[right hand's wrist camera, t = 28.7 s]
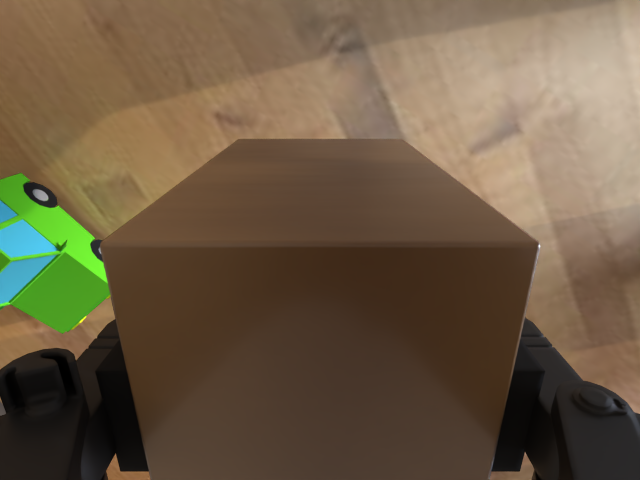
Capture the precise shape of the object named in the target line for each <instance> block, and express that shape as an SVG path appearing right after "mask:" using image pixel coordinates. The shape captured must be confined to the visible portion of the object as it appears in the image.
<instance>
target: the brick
mask: <svg viewBox="0 0 640 480" xmlns="http://www.w3.org/2000/svg"><path fill="white" fill-rule="evenodd" d="M100 250H101V255H102V259H103V264H104V268H105V273H106V277H107V282H108V287H109V291H110V296H111V300H112V305H113V309H114V314H115V319H116V323H117V328H118V332H119V337H120V341H121V346H122V350H123V355H124V360H125V364H126V369H127V373H128V378H129V382H130V387H131V392H132V396H133V401H134V405H135V410H136V414H137V419H138V424H139V428H140V433H141V437H142V442H143V446H144V451H145V455H146V460H147V465H148V469H149V474H150V478H151V480H489V479H490V475H491V470H492V465H493V461H494V456H495V452H496V447H497V443H498V438H499V433H500V429H501V424H502V420H503V415H504V411H505V406H506V401H507V397H508V392H509V388H510V383H511V379H512V374H513V369H514V365H515V360H516V356H517V351H518V347H519V342H520V337H521V333H522V328H523V324H524V319H525V315H526V310H527V305H528V301H529V296H530V292H531V287H532V283H533V278H534V273H535V269H536V264H537V260H538V255H539V251H540V243H539V242H538V241H537V240H536V239H534V238H533V237H532V236H530V235H529V234H528V233H526V232H525V231H524V230H523V229H521V228H520V227H519V226H517V225H516V224H515V223H513V222H512V221H511V220H509V219H508V218H507V217H505V216H504V215H503V214H501V213H500V212H499V211H497V210H496V209H495V208H493V207H492V206H491V205H489V204H488V203H487V202H485V201H484V200H483V199H481V198H480V197H479V196H477V195H476V194H475V193H473V192H472V191H471V190H469V189H468V188H467V187H465V186H464V185H463V184H461V183H460V182H459V181H457V180H456V179H455V178H453V177H452V176H451V175H450V174H448V173H447V172H446V171H444V170H443V169H442V168H440V167H439V166H438V165H436V164H435V163H434V162H432V161H431V160H430V159H428V158H427V157H426V156H424V155H423V154H422V153H420V152H419V151H418V150H416V149H415V148H414V147H412V146H411V145H410V144H408V143H407V142H406V141H404V140H403V139H238V140H237V141H235V142H234V143H232V144H231V145H230V146H228V147H227V148H226V149H224V150H223V151H222V152H220V153H219V154H218V155H216V156H215V157H214V158H212V159H211V160H210V161H208V162H207V163H206V164H204V165H203V166H202V167H200V168H199V169H198V170H196V171H195V172H194V173H192V174H191V175H190V176H188V177H187V178H186V179H184V180H183V181H182V182H180V183H179V184H178V185H176V186H175V187H174V188H172V189H171V190H170V191H168V192H167V193H166V194H164V195H163V196H162V197H160V198H159V199H158V200H156V201H155V202H154V203H152V204H151V205H150V206H148V207H147V208H146V209H144V210H143V211H142V212H140V213H139V214H137V215H136V216H135V217H133V218H132V219H131V220H129V221H128V222H127V223H125V224H124V225H123V226H121V227H120V228H119V229H117V230H116V231H115V232H113V233H112V234H111V235H109V236H108V237H107V238H105V239H104V240H103V241H101V243H100Z"/></svg>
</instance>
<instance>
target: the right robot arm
mask: <svg viewBox="0 0 640 480" xmlns="http://www.w3.org/2000/svg"><path fill="white" fill-rule="evenodd" d="M0 397H1V400H2V403H3V406H4V408H5V411H6V414H5V415H2V416H0V480H108V477H107V473H106V470H107V468H108V466H109V464H110V462H111V460H112V459H113V457H114V455H115V453H116V456H117V459H118V463H119V467H120V471H149V469H148V465H147V460H146V455H145V451H144V446H143V442H142V437H141V433H140V428H139V424H138V419H137V414H136V410H135V405H134V401H133V396H132V392H131V387H130V382H129V378H128V373H127V369H126V364H125V360H124V355H123V350H122V346H121V341H120V337H119V332H118V328H117V323H116V319H115V320H113V321H112V322H110V323H109V324H107V325H106V327H105V328H104V329H103V330H102V331H101V332H100V334H99V335H98V336H97V339H94V341H93V342H92V343H91V344H90V345H89V348H88V349H86V350H85V351H84V352H83V353H82V355H81V356H80V357H79V358H78V359H77V360H75V356H74V354H73V353H72V352H70V351H69V350H67V349H60V348H52V349H43V350H39V351H36V352H32V353H29V354H26V355H24V356H22V357H20V358H17V359H15V360H13V361H12V362H10V363H9V364H7V365H6V366H5V367H3V368H2V369H1V370H0ZM525 452H526V454H527V456H528V458H529V460H530V461H531V463H532V465H533V467H534V473H533V476H532V480H640V414H638V413H634V412H633V410H632V409H631V408H630V406H629V405H628V403H627V402H626V401H624V400H623V399H622V398H621V397H619V396H618V395H617V394H616V393H614V392H612V391H610V390H608V389H606V388H604V387H603V386H600V385H597V384H594V383H591V382H588V381H583V380H582V379H581V378H580V377H579V375H578V374H577V373H576V372H575V371H574V370H573V368H572V367H571V366H570V365H569V364H568V363H567V362H566V360H565V359H564V358H563V357H562V356H561V355H560V353H559V352H558V351H557V350H556V349H555V348H554V347H552V344H551V343H550V342H549V341H548V340H547V338H546V337H543V334H542V333H541V332H540V330H539V329H538V328H537V327H536V326H535V325H534V323H533V322H531V321H529V320H528V319H526V318H525V319H524V324H523V328H522V333H521V337H520V342H519V347H518V351H517V356H516V360H515V365H514V369H513V374H512V379H511V383H510V388H509V392H508V397H507V401H506V406H505V411H504V415H503V420H502V424H501V429H500V433H499V438H498V443H497V447H496V452H495V456H494V461H493V465H492V470H491V471H520V468H521V465H522V461H523V457H524V453H525Z"/></svg>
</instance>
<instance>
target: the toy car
mask: <svg viewBox="0 0 640 480" xmlns="http://www.w3.org/2000/svg"><path fill="white" fill-rule="evenodd" d="M29 181H30V180H29V179H28V178H27V177H25V176H24V175H23V174H22V173H19V174H16V175H13V176H10V177H7V178H4V179H1V180H0V310H1V309H2V308H3V307H4V306H6V305H10V304H11V305H13V306H15V307H16V308H18V309H20V310H22V311H23V312H25V313H27V314H29V315H30V316H32V317H34V318H36V319H38V320H39V321H41V322H43V323H45V324H46V325H48V326H50V327H52V328H53V329H55V330H57V331H59V332H60V333H62V334H63V333H64V332H65V331H67V332H68V331H69V330H71V329H72V330H73V329H74V328H75V327H76V326H78V325H79V324H80V323H81V322H82V321H83V320H84V319H85V318H86V316H87V315H88V314H89V313H90V312H91V311H92V310H93V309H94V308H96V307H97V306H98V305H99V304H100V303H101V302H102V301H104V300H105V299H106V298H107V299H108V298H109V297H111V296H110V291H109V287H108V282H107V277H106V273H105V268H104V264H103V259H102V255H101V250H100V243H101V241H102V240H95V241H93V240H94V239H95V238H94V237H93V236H92V235H91V234H90V233H89V232H88V231H86V230H85V229H84V228H83V227H82V226H81V225H80V224H79V223H77V222H76V221H75V220H74V219H73V218H72V217H71V216H69V215H68V214H67V213H66V212H65V211H64V210H63V209H62V208H60V207H59V206H57V207H55V206H56V204H57V199H56V197H55V195H54V194H53V193H52V192H51V191H50V190H49V189H47V188H46V187H44V186H43V185H40V184H37V183H34V182H32V183H28V182H29ZM54 207H55V208H54Z"/></svg>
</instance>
